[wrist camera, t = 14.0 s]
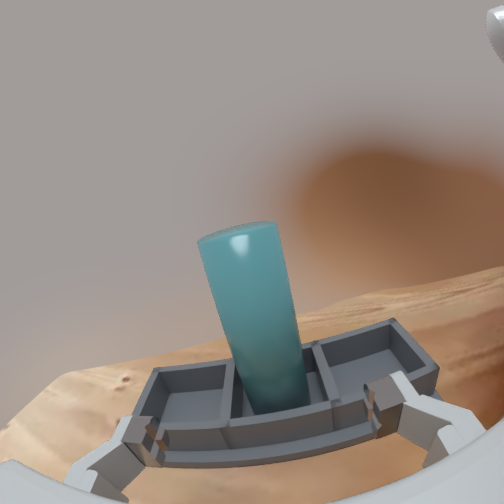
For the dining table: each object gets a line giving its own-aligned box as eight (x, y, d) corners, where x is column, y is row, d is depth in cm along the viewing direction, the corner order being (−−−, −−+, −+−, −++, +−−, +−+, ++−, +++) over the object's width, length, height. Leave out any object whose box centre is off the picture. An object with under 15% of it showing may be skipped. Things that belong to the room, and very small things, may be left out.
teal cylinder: (278, 379, 24) (239, 223, 20) (322, 395, 20) (292, 218, 17) (241, 411, 20) (182, 244, 17) (285, 435, 17) (232, 243, 13)
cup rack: (391, 342, 25) (392, 311, 24) (441, 408, 15) (451, 374, 14) (168, 388, 27) (153, 361, 26) (140, 464, 16) (117, 437, 15)
